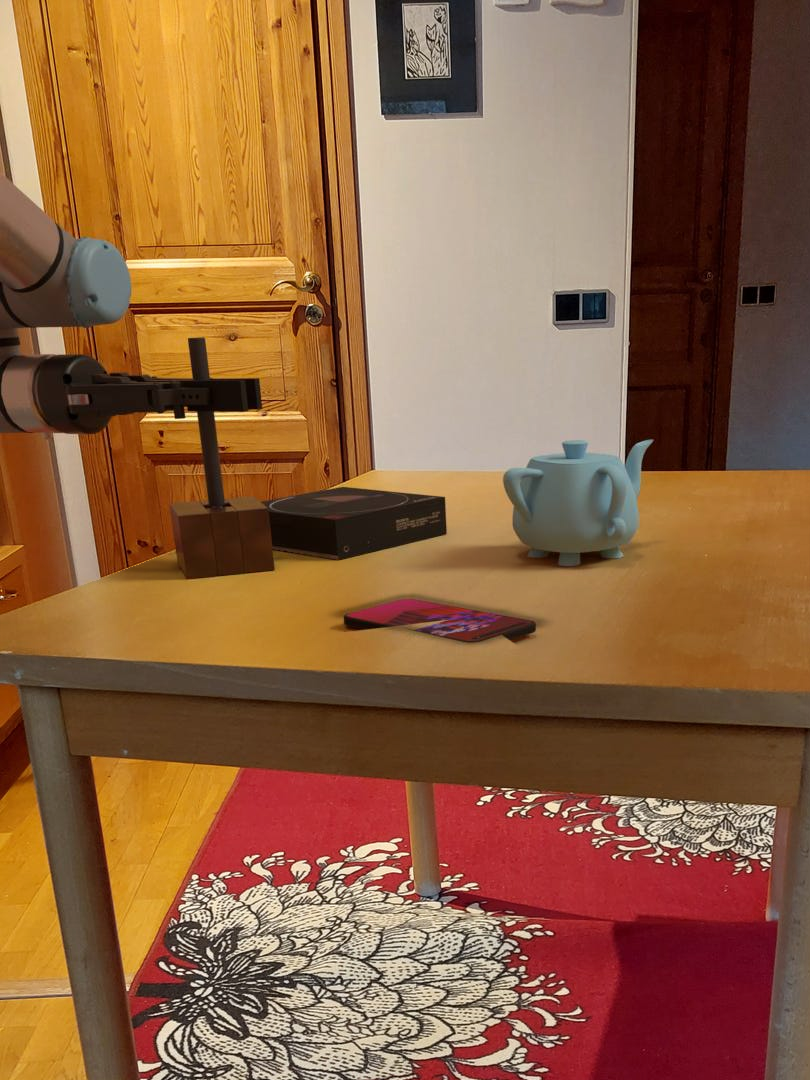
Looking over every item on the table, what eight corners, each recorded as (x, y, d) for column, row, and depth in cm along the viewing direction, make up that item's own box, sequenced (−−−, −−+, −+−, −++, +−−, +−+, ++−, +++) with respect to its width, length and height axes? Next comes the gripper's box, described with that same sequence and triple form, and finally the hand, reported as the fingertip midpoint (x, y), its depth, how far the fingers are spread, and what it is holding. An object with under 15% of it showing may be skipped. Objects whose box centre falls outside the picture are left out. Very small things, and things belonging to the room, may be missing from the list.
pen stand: (186, 579, 113) (178, 515, 111) (177, 563, 121) (169, 503, 118) (274, 570, 116) (268, 508, 113) (260, 554, 123) (253, 496, 121)
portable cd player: (342, 520, 141) (339, 486, 139) (446, 533, 130) (445, 496, 129) (233, 543, 130) (228, 506, 128) (338, 559, 119) (335, 519, 118)
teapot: (497, 571, 114) (493, 451, 109) (533, 536, 126) (532, 427, 121) (625, 577, 111) (627, 453, 105) (650, 540, 123) (654, 428, 117)
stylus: (211, 515, 115) (188, 338, 108) (208, 513, 116) (186, 337, 110) (227, 514, 116) (206, 337, 109) (225, 511, 117) (203, 337, 110)
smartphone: (407, 597, 99) (541, 621, 90) (408, 607, 100) (541, 632, 90) (337, 615, 94) (472, 643, 85) (338, 626, 95) (472, 655, 85)
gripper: (116, 426, 126) (299, 429, 117) (14, 441, 114) (207, 446, 105) (105, 351, 123) (291, 347, 113) (-2, 358, 111) (196, 355, 102)
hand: (251, 394), depth 109 cm, fingers closed on stylus, 1 cm apart
